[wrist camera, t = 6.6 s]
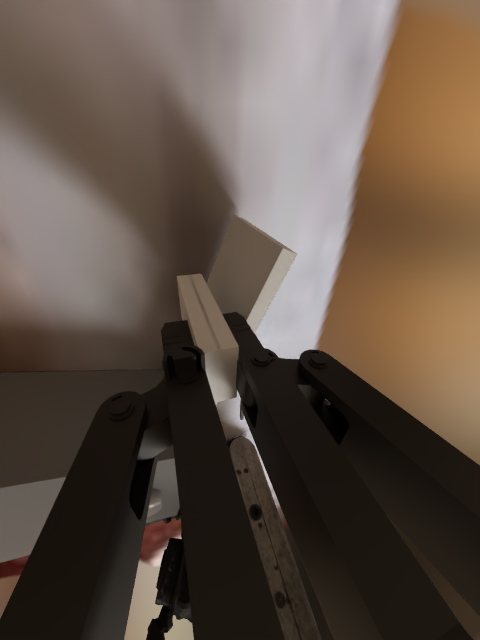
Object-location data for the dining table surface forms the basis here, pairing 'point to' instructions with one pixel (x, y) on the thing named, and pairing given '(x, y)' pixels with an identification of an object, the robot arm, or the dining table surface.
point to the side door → (248, 271)
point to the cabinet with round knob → (59, 446)
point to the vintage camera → (272, 549)
